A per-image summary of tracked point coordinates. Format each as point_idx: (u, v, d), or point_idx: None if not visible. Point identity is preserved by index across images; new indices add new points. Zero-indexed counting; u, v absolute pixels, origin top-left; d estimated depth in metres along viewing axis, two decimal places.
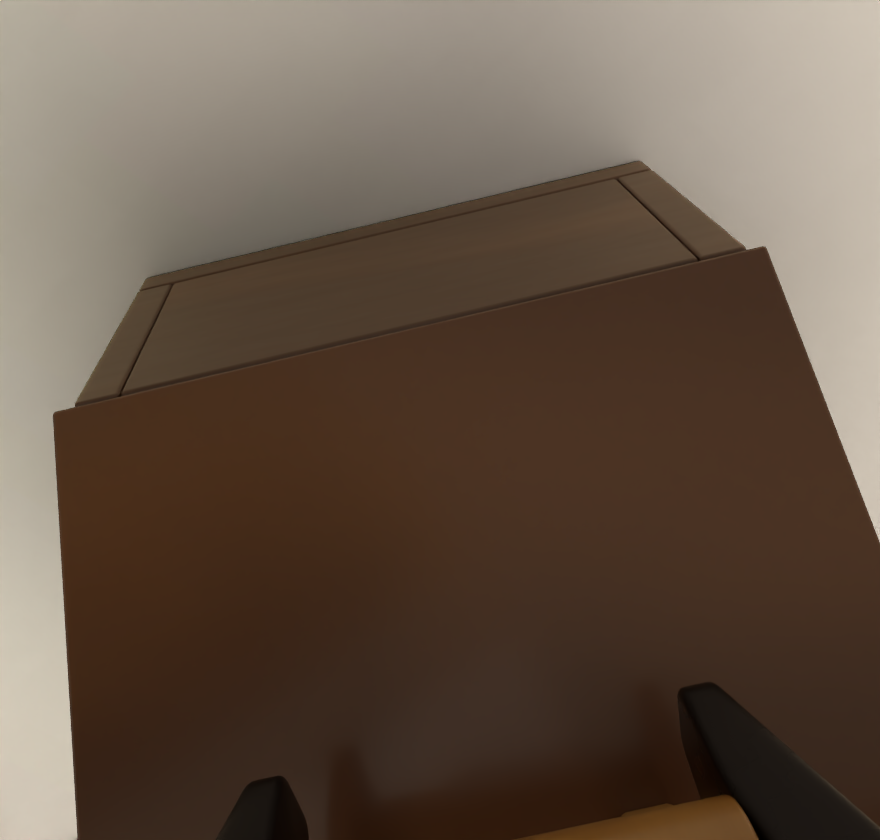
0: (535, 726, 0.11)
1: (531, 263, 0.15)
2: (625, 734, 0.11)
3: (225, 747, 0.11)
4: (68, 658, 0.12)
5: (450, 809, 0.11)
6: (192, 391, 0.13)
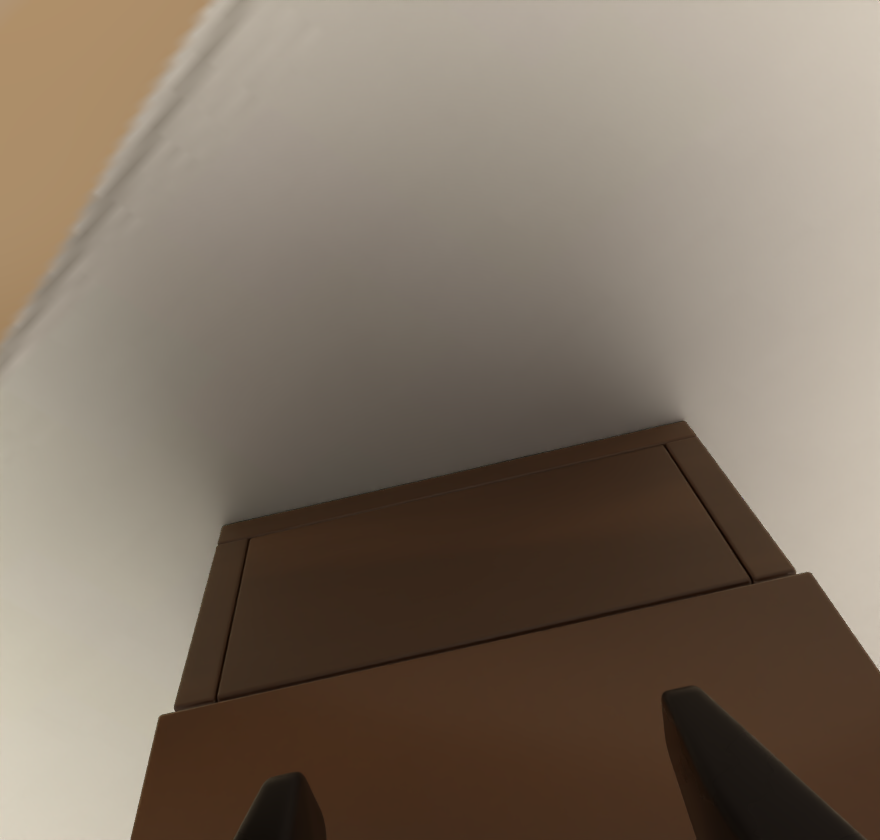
0: None
1: (593, 561, 0.16)
2: None
3: None
4: None
5: None
6: (284, 696, 0.14)
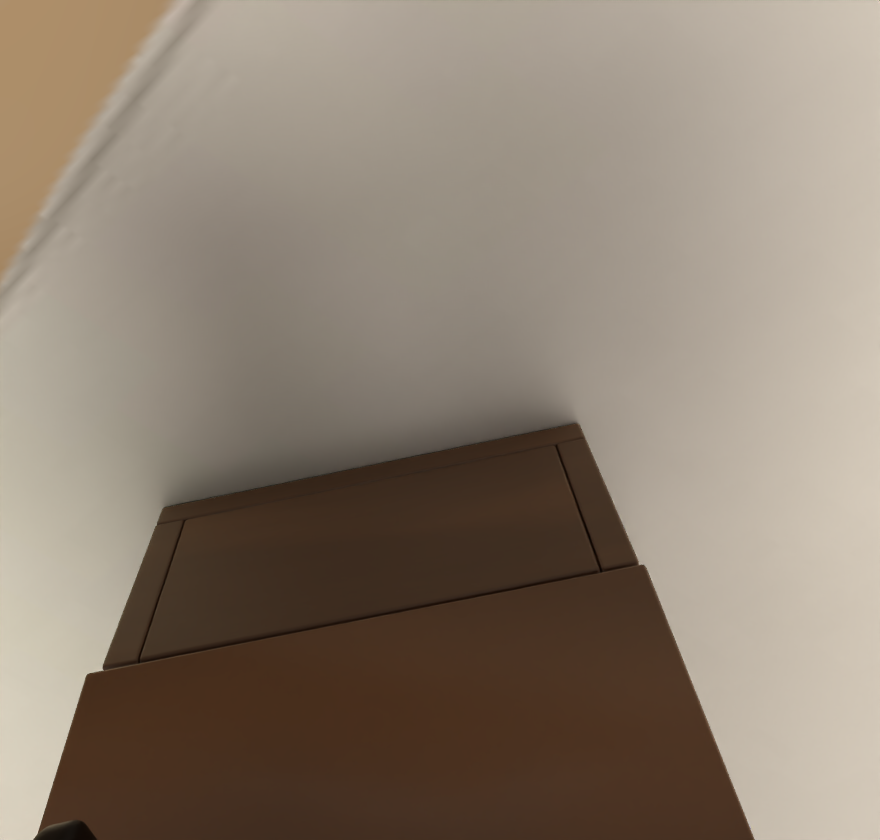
0: None
1: (472, 549, 0.18)
2: None
3: None
4: None
5: None
6: (193, 660, 0.16)
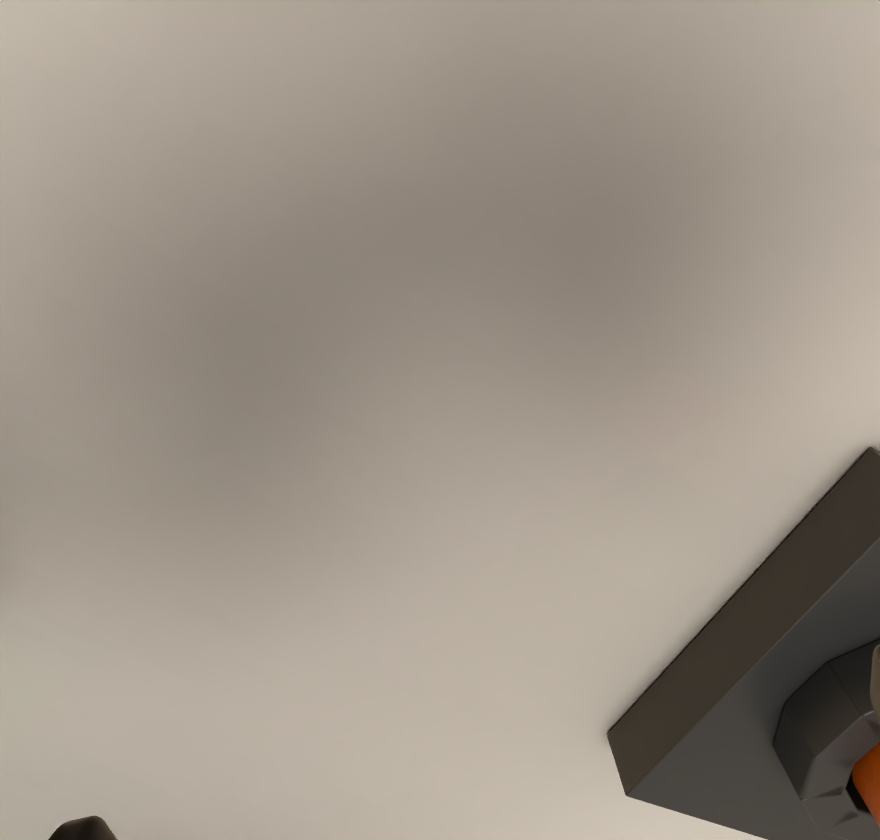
0: None
1: None
2: None
3: None
4: None
5: None
6: None
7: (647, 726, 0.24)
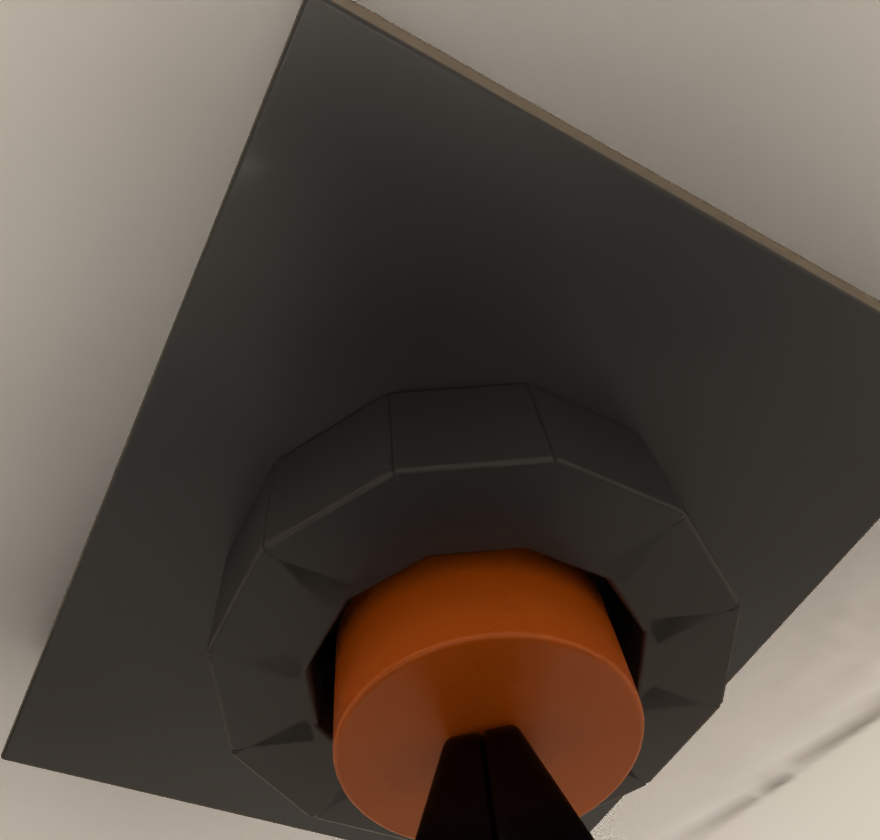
0: None
1: None
2: None
3: None
4: None
5: None
6: None
7: None
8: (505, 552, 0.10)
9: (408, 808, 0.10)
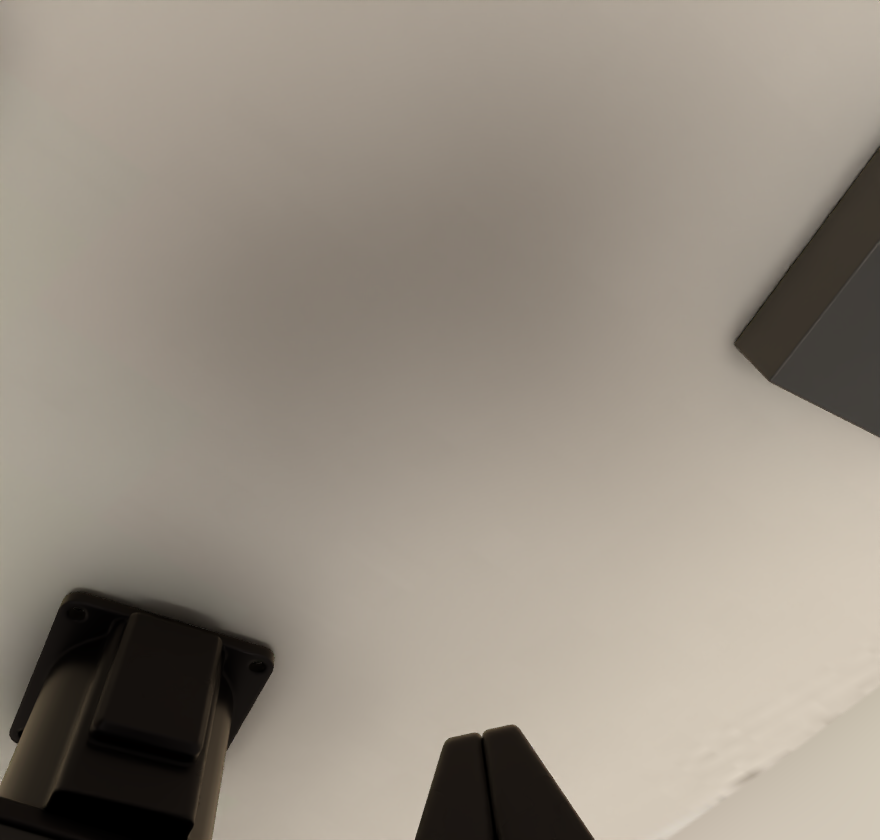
0: None
1: None
2: None
3: None
4: None
5: None
6: None
7: (791, 304, 0.20)
8: None
9: None
